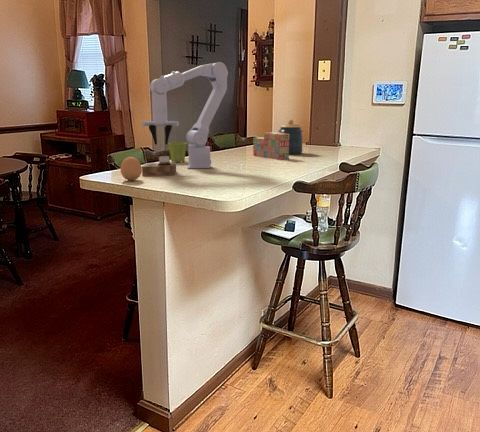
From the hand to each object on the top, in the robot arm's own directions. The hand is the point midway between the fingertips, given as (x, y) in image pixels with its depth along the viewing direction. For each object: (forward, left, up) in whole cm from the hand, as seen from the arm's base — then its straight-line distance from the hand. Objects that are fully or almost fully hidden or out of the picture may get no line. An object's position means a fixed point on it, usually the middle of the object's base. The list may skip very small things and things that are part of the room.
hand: (161, 144), depth 191 cm
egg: (+8, +26, -11) cm, 29 cm away
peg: (-2, +10, -7) cm, 13 cm away
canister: (-61, -56, -11) cm, 84 cm away
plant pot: (-4, -26, -11) cm, 28 cm away
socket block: (0, +10, -10) cm, 14 cm away
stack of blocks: (-49, -40, -11) cm, 64 cm away
